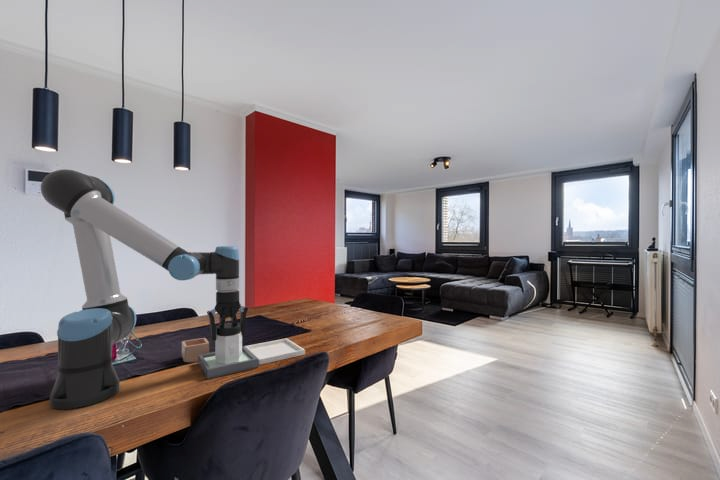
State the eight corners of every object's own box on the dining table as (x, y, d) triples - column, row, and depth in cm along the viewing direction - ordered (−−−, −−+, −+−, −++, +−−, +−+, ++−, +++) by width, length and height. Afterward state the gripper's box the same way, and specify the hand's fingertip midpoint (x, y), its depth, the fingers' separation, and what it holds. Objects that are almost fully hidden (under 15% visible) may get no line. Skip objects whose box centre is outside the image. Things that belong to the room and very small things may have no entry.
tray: (259, 364, 115) (259, 359, 115) (244, 350, 130) (244, 346, 130) (305, 354, 126) (305, 349, 126) (286, 342, 140) (286, 338, 140)
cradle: (207, 379, 104) (207, 369, 104) (198, 363, 117) (198, 355, 117) (258, 367, 113) (258, 358, 113) (244, 354, 126) (244, 346, 126)
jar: (218, 366, 109) (218, 330, 109) (212, 359, 115) (212, 325, 115) (245, 360, 114) (245, 325, 114) (238, 353, 121) (238, 321, 121)
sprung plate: (211, 373, 105) (211, 370, 105) (203, 360, 116) (203, 358, 116) (253, 364, 113) (253, 361, 113) (241, 353, 124) (241, 350, 124)
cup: (184, 364, 116) (184, 347, 116) (181, 357, 123) (181, 341, 122) (209, 359, 121) (209, 343, 121) (205, 353, 127) (205, 337, 127)
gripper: (204, 294, 107) (204, 366, 107) (254, 289, 116) (255, 355, 117) (199, 291, 113) (200, 359, 113) (248, 286, 122) (248, 349, 123)
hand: (228, 357), depth 115 cm, fingers closed on jar, 3 cm apart
